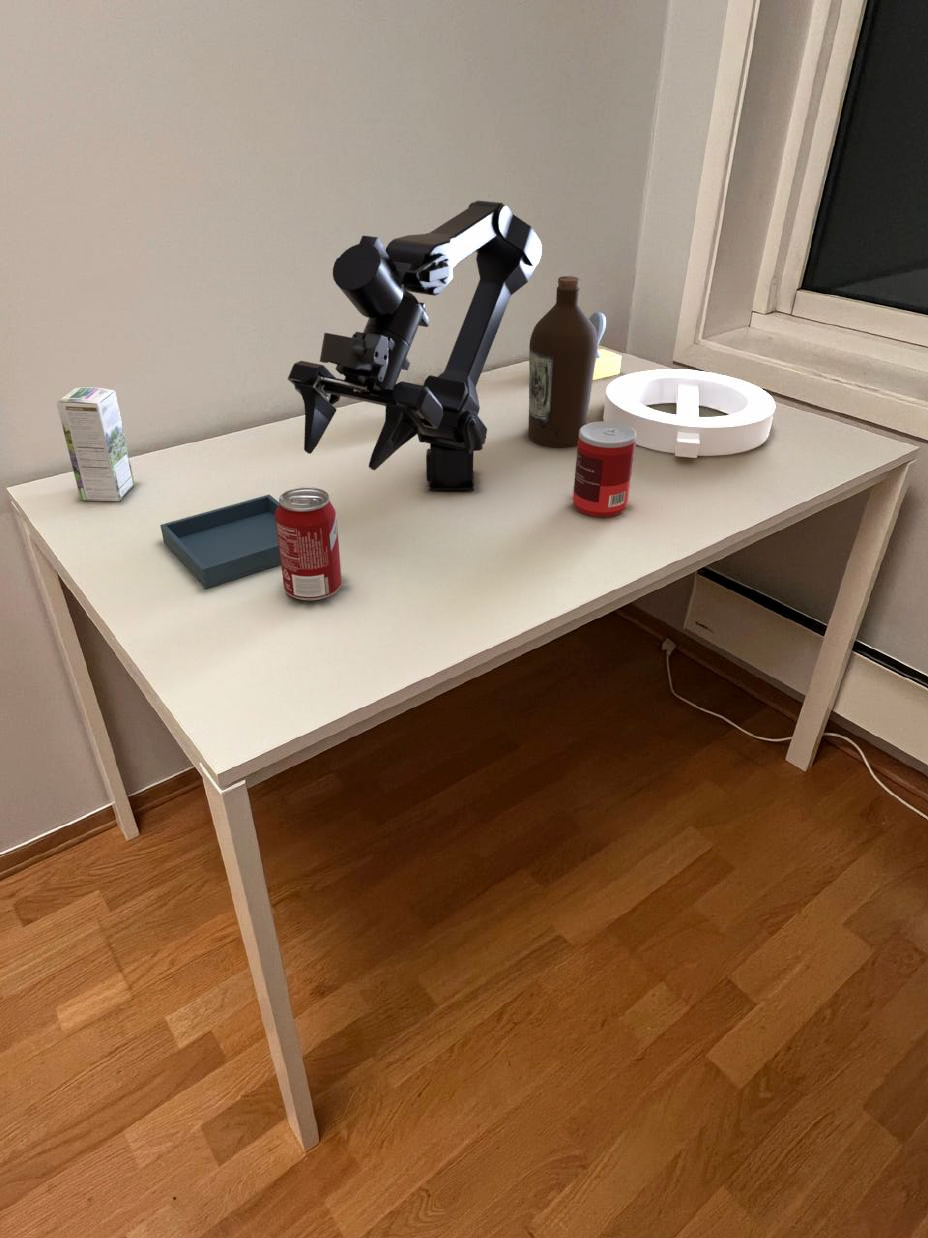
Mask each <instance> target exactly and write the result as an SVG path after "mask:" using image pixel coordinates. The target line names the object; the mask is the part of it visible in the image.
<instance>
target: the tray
mask: <svg viewBox="0 0 928 1238" xmlns="http://www.w3.org/2000/svg"><path fill="white" fill-rule="evenodd" d="M279 505H280V504H279V500H278V499H276V498H275V497H274V496H272V495H271V494H265V495H262V496H259V497H256V498H252V499H248V500H244V501H240V502H236V503H233V504H229V505H226V506H222V507H219V508H216V509H212V510H209V511H205V512H201V513H198V514H194V515H191V516H186V517H184V518H180V519H176V520H173V521H169V522H166V523H163V524H160V525H159V526H160V530H161V535H162V539H163V540H162V541H163V544H164V545H165V546H166V547H167V548H168V549H169V550H170V552H172V553H173V555H174V556H175V557H176V558H177V559H178V560H179V562H181V563H182V565H183V566H184V567H185V568H186V569H187V570H188V572H190V573H191V574H192V576H193V577H194V578H195V579H196V580H197V581H198V582H199V583H200V584H201V585H202V586H203V588H205V590H207V589H210V588H213V587H216V586H220V585H222V584H225V583H229V582H231V581H234V580H238V579H240V578H243V577H246V576H249V575H253V574H255V573H259V572H262V571H265V570H268V569H271V568H274V567H277V566H281V559H280V551H279V544H278V536H277V528H276V520H275V512H276V510H277V508H278V506H279Z"/></svg>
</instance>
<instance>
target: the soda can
mask: <svg viewBox="0 0 928 1238" xmlns="http://www.w3.org/2000/svg"><path fill="white" fill-rule="evenodd" d="M278 502H279V504H280V505H279V506H278V508H277V510H276V512H275V520H276V528H277V536H278V544H279V551H280V559H281V564H280V567H281V573H282V582H283V589H284V591H285V593H286V594H288V595H289V596H290V597H292V598H294V599H298V600H302V601H308V602H309V601H313V602H314V601H319V600H324V599H326V598H328V597H331V596H333V595H334V594H336V593H337V592H338V591H340V589H341V587H342V584H343V583H342V582H343V579H342V567H341V556H340V543H339V530H338V519H337V517H338V516H337V510H336V507H335V505H334V504H333V503H332V502H331V500H330V495H329V493H328V492H327V491H326V490H324V489H322V488H318V487H314V486H313V487H311V486H310V487H309V486H303V487H296V488H292V489H289V490H286V491H285V492H283V493H282V494H280V495H279V497H278Z"/></svg>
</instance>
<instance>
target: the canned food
mask: <svg viewBox="0 0 928 1238" xmlns="http://www.w3.org/2000/svg"><path fill="white" fill-rule="evenodd" d="M636 445H637V444H636V431H635V430H634V429H633V428H631V427H629V426H627V425H625V424H621V423H617V422H607V421H604V420H602V421H594V422H589V423H587V424H586V425H584V426H582V427H581V428H580V432H579V438H578V445H577V448H576V457H575V459H576V460H575V469H574V470H575V471H574V481H573V482H574V483H573V492H572V493H573V494H572V502H573V506H574V508H575V509H576V510H577V511H578V512H580V513H582V514H584V515H587V516H590V517H596V518H610V517H614V516H617V515H619V514H621V513H623V512H624V510H625V509H626V507H627V506H628V502H629V496H630V495H629V494H630V487H631V481H632V474H633V466H634V460H635V459H634V458H635V451H636Z"/></svg>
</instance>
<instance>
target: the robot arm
mask: <svg viewBox="0 0 928 1238" xmlns="http://www.w3.org/2000/svg"><path fill="white" fill-rule="evenodd" d="M542 248H543V247H542V242H541V240H540V238H539V237H538V235H537V233H536V232H535V230H534V229H533V227H532V225H530V224H528V223H527V222H525V221H524V220H523V219H521V218H520V217H518V216H517V215H515V214H514V213H513V212H512V210H511V208H510V207H509V206H508V205H507V204H506V205H505V203H503V202H497V201H489V200H479V199H478V200H475V201H472V202H471V203H469V205H468V206H467V208H466V209H464V210H463V211H462V212H460V213H459V214H456V215H455V216H454V217H452V218H451V219H449V220H447V221H446V222H444V223H442V224H441V225H439V226H438V227H436V228H434V229H433V230H431V231H429V232H427V233H420V234H419V233H418V234H408V235H407V234H406V235H404V236H400V237H397V238H393V239H392V240H391V241H390V242H389V243H388V244H387V246H386V247H384V244H383V243H382V241H381V240H380V239H379V237H378V236H372V235H362V236H361V238H360V240H359V242H358V243H357V244H355V245H352V246H350V247H349V248H347V249H345V250H344V251H343V252H342V253H341V254H340V256H339V257H337V258H336V259H335V261H334V264H333V267H332V279H333V281H334V283H335V285H336V286H337V287H338V289H340V290H341V292H342V293H343V295H344V296H346V298H347V299H348V301H350V303H351V304H352V305H353V306H354V307H355V309H356V310H357V311H358V313H359V314H360V315H362V316H363V317H365V318H368V319H367V322H366V324H365V327H364V329H363V332H360V331H355V333H353V334H352V336H347V335H346V336H345V335H340V334H335V333H329V332H324V333H323V340H322V344H321V345H322V346H321V350H320V356H319V362H320V363H323V364H319V363H316V362H315V363H314V362H311V361H305V360H299V361H297V362H295V363H293V365H292V367H291V370H290V371H289V374H288V376H287V380H288V381H289V382H290V383H291V384H292V385H293V386H294V390H295V391H296V392H298V394H300V395H301V398H302V400H303V401H302V402H303V404H304V405H303V406H304V436H303V437H304V439H303V440H304V441H303V444H304V445H303V451H304V452H306V453H307V454H310V455H311V454H312V453H313V452H314V451H315V449H316V447H317V446H318V445H319V443H320V442H321V439H322V437H323V435H324V434H325V432H326V430H327V428H328V427H329V425H330V424H331V421H332V420H333V418H334V416H335V414H336V412H337V408H336V407H335V406H334V405H335V404H337V403H338V402H339V401H340V399H341V397H343V398H347V399H352V400H356V401H360V402H365V403H370V404H375V405H379V406H382V407H385V412H384V413H385V415H384V417H385V419H384V423H383V426H382V428H381V431H380V433H379V436H378V438H377V440H376V443H375V445H374V447H373V450H372V452H371V456H370V459H369V463H368V469H370V470H371V471H376V470H377V469H378V468H379V467H380V466H382V465H383V464H384V463H385V462H386V461H387V460H388V459H389V458H391V456H392V455H393V454H395V453H396V452H397V451H398V450H399V449H400V448H401V447H402V446H403V445H405V444H406V443H408V442H409V441H410V440H411V439H413V438H414V437H415V436H417V439H418V442H419V443H426V444H429V448H427V449H426V454H425V471H426V472H425V473H426V474H425V476H426V479H425V480H426V482H427V483H429V486H428V488H429V489H428V490H429V491H432V492H433V491H434V492H435V491H436V492H437V491H441V492H443V491H444V492H447V491H448V492H473V491H474V490H475V470H474V457H475V452H478V451H482V450H483V448H484V447H483V446H484V445H485V443H486V439H487V433H488V428H487V426H486V425H485V424H484V422H483V421H482V419H481V418H480V417H479V413H480V410H481V409H480V406H481V405H480V402H479V397H478V392H477V386H478V383H479V380H480V378H481V374H482V373H483V369H484V367H485V364H486V362H487V359H488V356H489V354H490V351H491V348H492V346H493V343H494V341H495V339H496V336H497V333H498V330H499V328H500V326H501V323H502V320H503V317H504V315H505V312H506V309H507V307H508V305H509V302H510V299H511V297H512V295H514V294H515V293H517V292H518V291H519V290H520V289H521V288H523V287H525V285H526V284H528V282H529V281H530V280H531V277H532V275H533V273H534V271H535V269H536V267H537V266H538V264H539V263H540V261H541V257H542V251H543V249H542ZM475 252H476V257H475V262H476V265H477V271H478V275H479V280H478V283H477V286H476V288H475V291H474V293H473V296H472V298H471V301H470V304H469V306H468V309H467V312H466V314H465V317H464V319H463V322H462V325H461V327H460V329H459V332H458V335H457V337H456V340H455V342H454V345H453V347H452V350H451V353H450V355H449V358H448V360H447V363H446V366H445V368H444V371H443V372H442V373H440V374H439V375H438V376H436V375H431V374H430V375H428V376H427V377H426V378H425V380H424V382H423V385H422V384H417V383H412V382H407V381H403V380H401V381H399V382H398V379H399V377H400V374H401V372H402V370H403V371H408V370H409V368H410V366H411V362H410V360H409V359H408V358H407V357H408V353H409V351H410V348H411V347H412V343H413V341H414V339H415V335H416V334H417V331H418V329H419V327H424V328H428V327H429V326H430V317H429V315H428V313H427V311H426V304H425V302H422V301H421V302H420V301H419V300H418V298H417V297H416V296H415V295H414V294H413V293H415V294H422V295H428V296H435V297H436V296H437V295H439V294H441V292H442V291H444V289H445V288H446V287H447V286H448V285H449V283H451V281H452V280H453V279H454V268H455V267H456V266H457V265H458V264H459V263H461V262H462V261H464V260H465V259H466V258H468V257H470V256H471V255H472V254H474V253H475ZM328 363H330V364H334V365H336V367H335V370H336V371H337V372H338V374H340V375H343V376H344V378H343V379H342V378H337V377H336V376H335V375H334V374H333V373H332V372H331V371H330V370H329V369H328V368H327V367H326V366H325V365H324V364H328Z"/></svg>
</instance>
